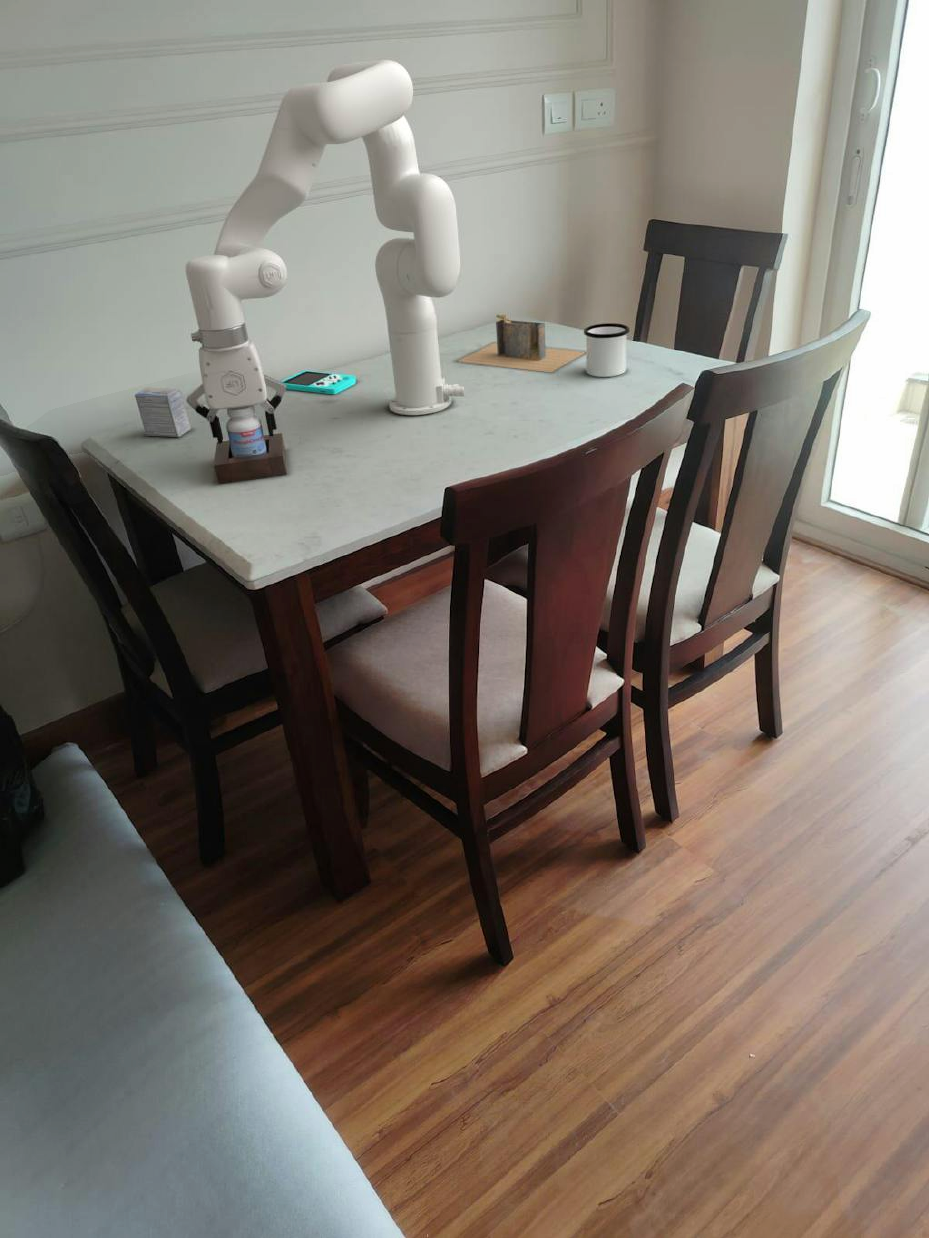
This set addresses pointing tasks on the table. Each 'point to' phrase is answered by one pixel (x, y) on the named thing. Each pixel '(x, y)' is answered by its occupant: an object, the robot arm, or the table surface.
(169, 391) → the medicine box
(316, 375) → the handheld game console
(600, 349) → the mug
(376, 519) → the table surface
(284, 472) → the holder
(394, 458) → the table surface
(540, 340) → the architectural model on board
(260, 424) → the pill bottle
